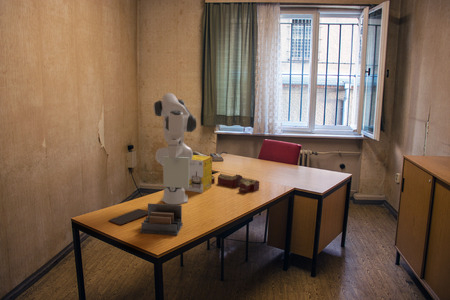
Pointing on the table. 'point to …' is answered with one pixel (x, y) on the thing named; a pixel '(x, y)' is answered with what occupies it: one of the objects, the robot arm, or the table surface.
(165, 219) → the offcut front
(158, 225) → the rack
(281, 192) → the table surface
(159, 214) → the block
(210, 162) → the packaging box
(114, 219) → the smartphone
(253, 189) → the toy houses
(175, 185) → the white thin panel
